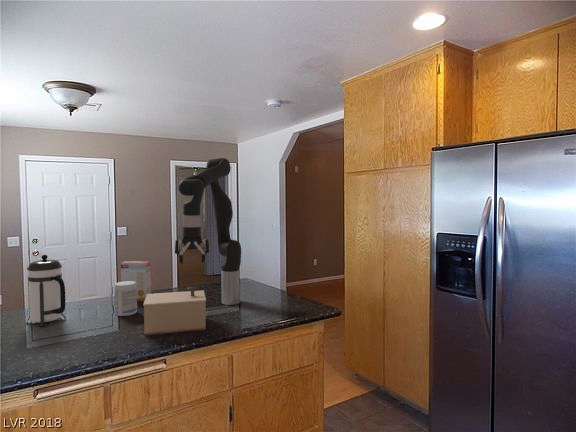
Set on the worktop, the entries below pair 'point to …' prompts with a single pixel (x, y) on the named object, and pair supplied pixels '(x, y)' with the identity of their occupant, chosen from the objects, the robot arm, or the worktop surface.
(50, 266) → the coffee press
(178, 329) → the carton
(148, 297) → the carton lid
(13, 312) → the worktop surface
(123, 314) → the supplement tub
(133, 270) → the cracker box
